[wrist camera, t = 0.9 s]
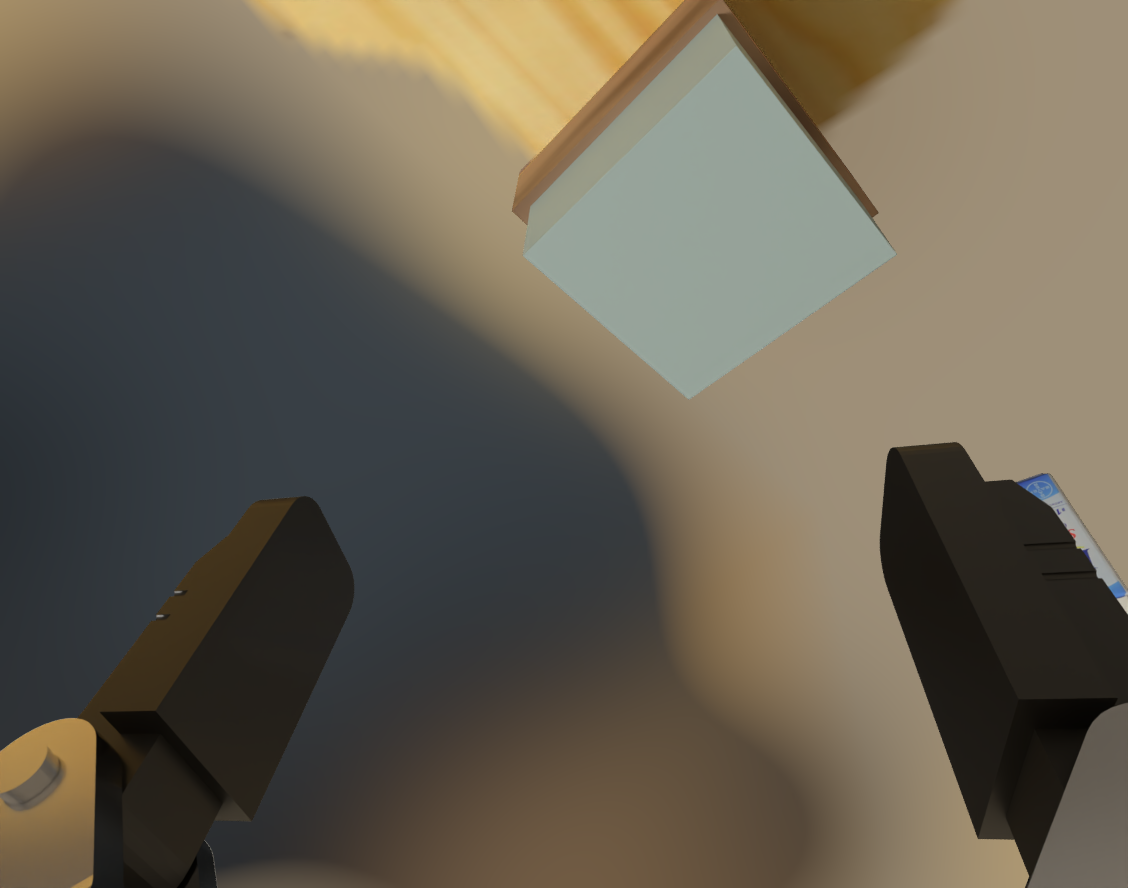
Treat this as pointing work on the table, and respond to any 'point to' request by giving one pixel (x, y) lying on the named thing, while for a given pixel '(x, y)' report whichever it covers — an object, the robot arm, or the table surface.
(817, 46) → the table surface
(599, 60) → the table surface
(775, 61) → the table surface
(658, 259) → the tower top block
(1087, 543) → the medicine box
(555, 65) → the table surface
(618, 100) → the tower base block
